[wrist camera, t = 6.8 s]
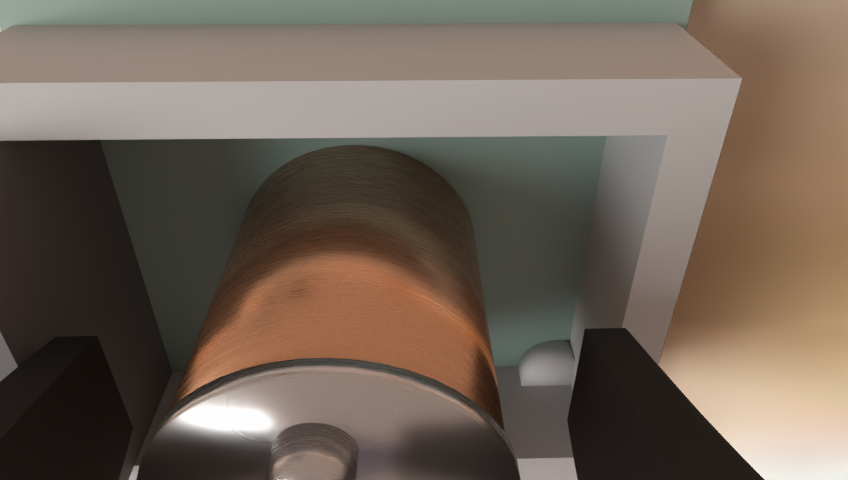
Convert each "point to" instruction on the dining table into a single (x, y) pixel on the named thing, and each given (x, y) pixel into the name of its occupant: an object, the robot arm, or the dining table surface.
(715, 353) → the dining table surface
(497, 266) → the grey green open box
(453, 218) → the spout can
